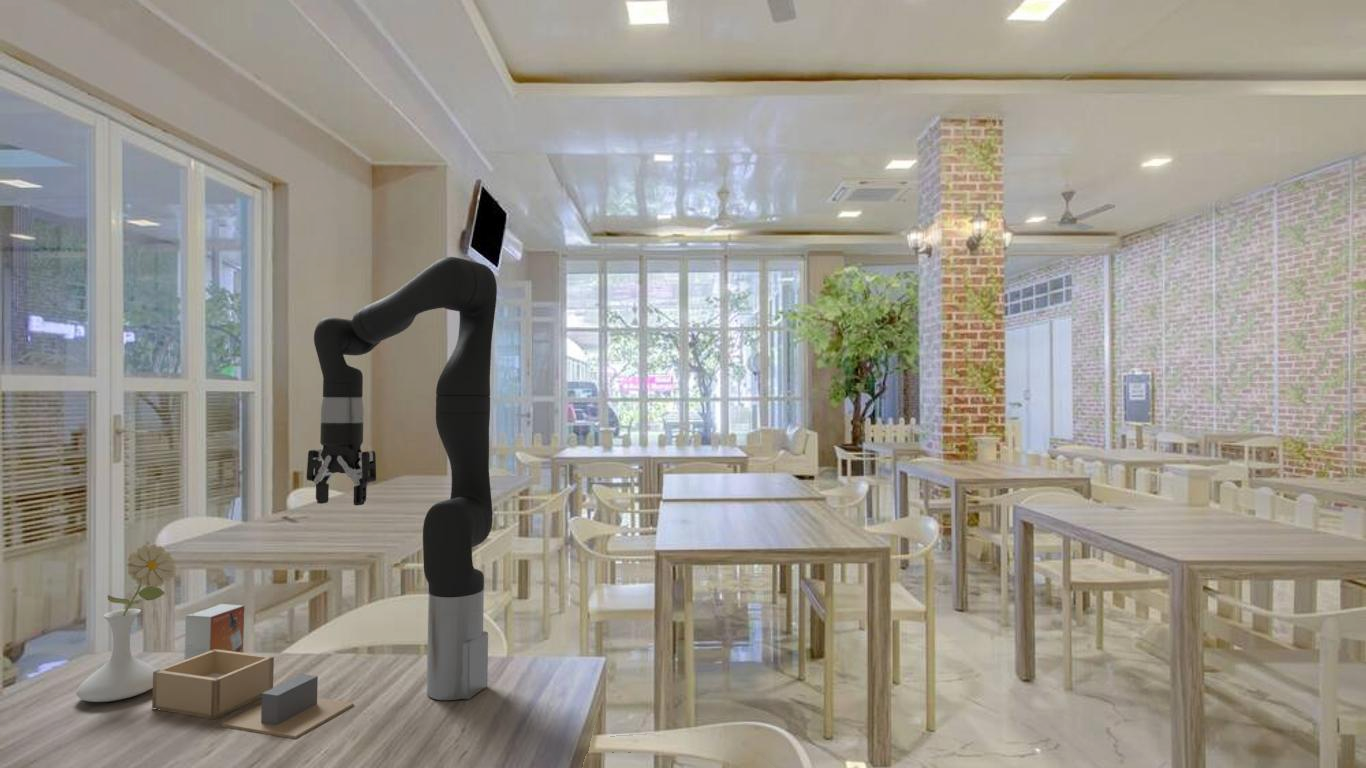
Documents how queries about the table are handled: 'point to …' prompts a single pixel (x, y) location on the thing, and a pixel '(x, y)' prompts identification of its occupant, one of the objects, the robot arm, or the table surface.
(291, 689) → the mailer lid
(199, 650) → the small box
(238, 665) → the box
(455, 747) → the table surface
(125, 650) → the flower in vase
